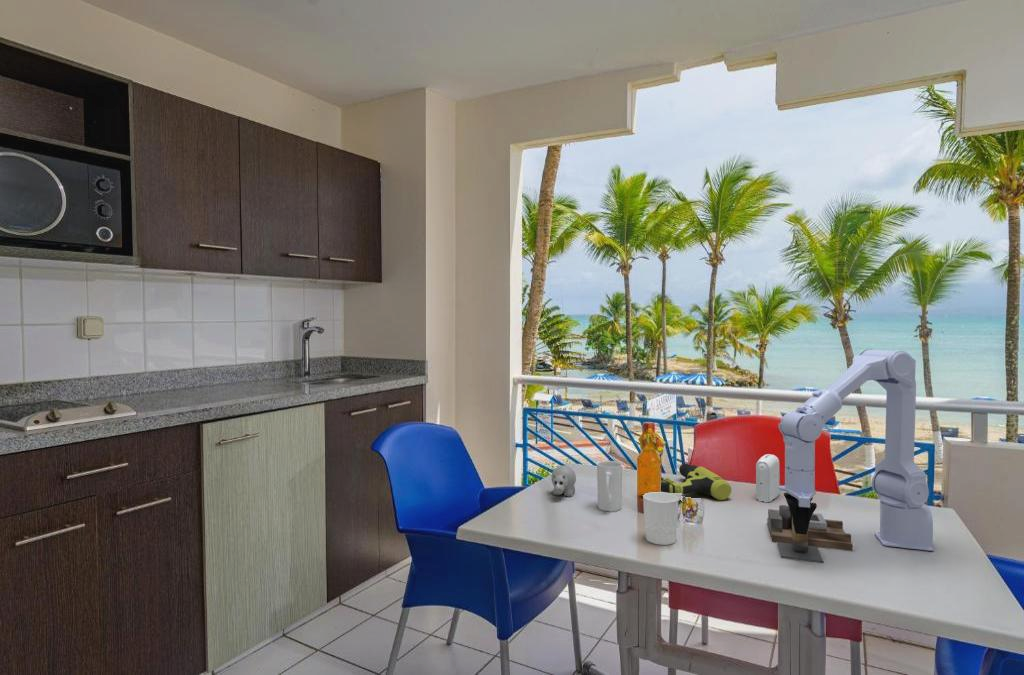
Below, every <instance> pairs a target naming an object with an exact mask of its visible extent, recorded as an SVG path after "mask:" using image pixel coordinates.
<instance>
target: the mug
mask: <svg viewBox="0 0 1024 675" xmlns="http://www.w3.org/2000/svg"><path fill="white" fill-rule="evenodd" d="M596 480H597V481H596V482H597V485H596V486H597V508H598V510H601V511H604V512H618V511H620V510H621V509H622V500H623V499H622V497H623V496H622V494H623V463H621V462H619V461H614V460H603V461H598V462H597V463H596Z"/></svg>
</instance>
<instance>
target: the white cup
mask: <svg viewBox="0 0 1024 675" xmlns="http://www.w3.org/2000/svg"><path fill="white" fill-rule="evenodd" d="M642 502H643V503H642V504H643V520H644V531H645V532H644V533H645V539H646V541H647V542H649V543H650V544H654V545H660V546H669V545H672V544H674V543H676V541H677V529H678V516H679V515H678V513H679V502H678V497H677V496H676V495H674V494H671V493H666V492H648V493H645V494H644V495H642Z"/></svg>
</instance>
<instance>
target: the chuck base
mask: <svg viewBox="0 0 1024 675" xmlns="http://www.w3.org/2000/svg"><path fill="white" fill-rule="evenodd" d="M778 506H779V507H778V509H772V508H771V509H767V514H768V515H767V519H766V520H767V521H766V522H767V523H766V524H767V529H768V532H769V536H770V539H771V542H773V543H777V542H781V543H790V544H793V542H792V531H791V528H790V520H791V515H790V510H789V506H788V505H786V504H780V505H778ZM824 519H825V518H824ZM825 521H826V523H827V531H820V530H810V529H808V546H816V547H817V548H825V549H832V550H833V549H834V550H840V551H841V550H843V551H849V552H850V551H851V552H853V543H852V534H851V533H847V532H845V530H844V529H843V528H844V522H843V521H842V520H835V519H825Z"/></svg>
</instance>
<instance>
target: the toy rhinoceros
mask: <svg viewBox="0 0 1024 675" xmlns="http://www.w3.org/2000/svg"><path fill="white" fill-rule="evenodd" d="M550 479H551V480H550V481H551V483H552V486H553V490H552V493H553V495H554V496H562V494H564V497H566V496H567V498H569V497H572V496H573V495H574V493H575V492H576V487H575V485H576V481H577V476H576V473H575V471H574V469H573V468H572V467H570V466H567V465H559V466H557V467H556V468H554V469H553V471H552V472H551V478H550Z"/></svg>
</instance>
